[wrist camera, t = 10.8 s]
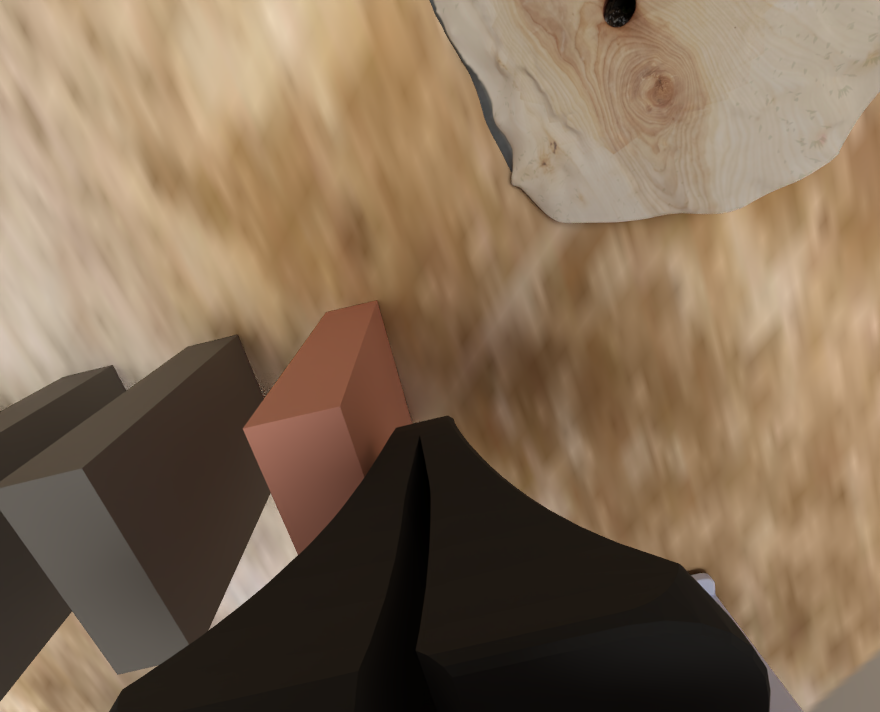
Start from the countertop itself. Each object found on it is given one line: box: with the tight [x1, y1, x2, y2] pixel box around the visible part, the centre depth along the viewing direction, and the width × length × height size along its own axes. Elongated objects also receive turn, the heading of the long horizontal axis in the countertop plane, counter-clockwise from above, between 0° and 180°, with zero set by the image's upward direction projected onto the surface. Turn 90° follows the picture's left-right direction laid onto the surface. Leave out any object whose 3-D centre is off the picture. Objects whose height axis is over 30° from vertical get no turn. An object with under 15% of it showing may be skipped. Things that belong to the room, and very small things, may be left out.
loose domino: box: [243, 300, 412, 555], centre depth 13 cm, size 2×5×8 cm, turn 13°
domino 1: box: [0, 365, 126, 701], centre depth 13 cm, size 2×5×8 cm, turn 13°
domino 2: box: [0, 335, 271, 675], centre depth 13 cm, size 2×5×8 cm, turn 13°
